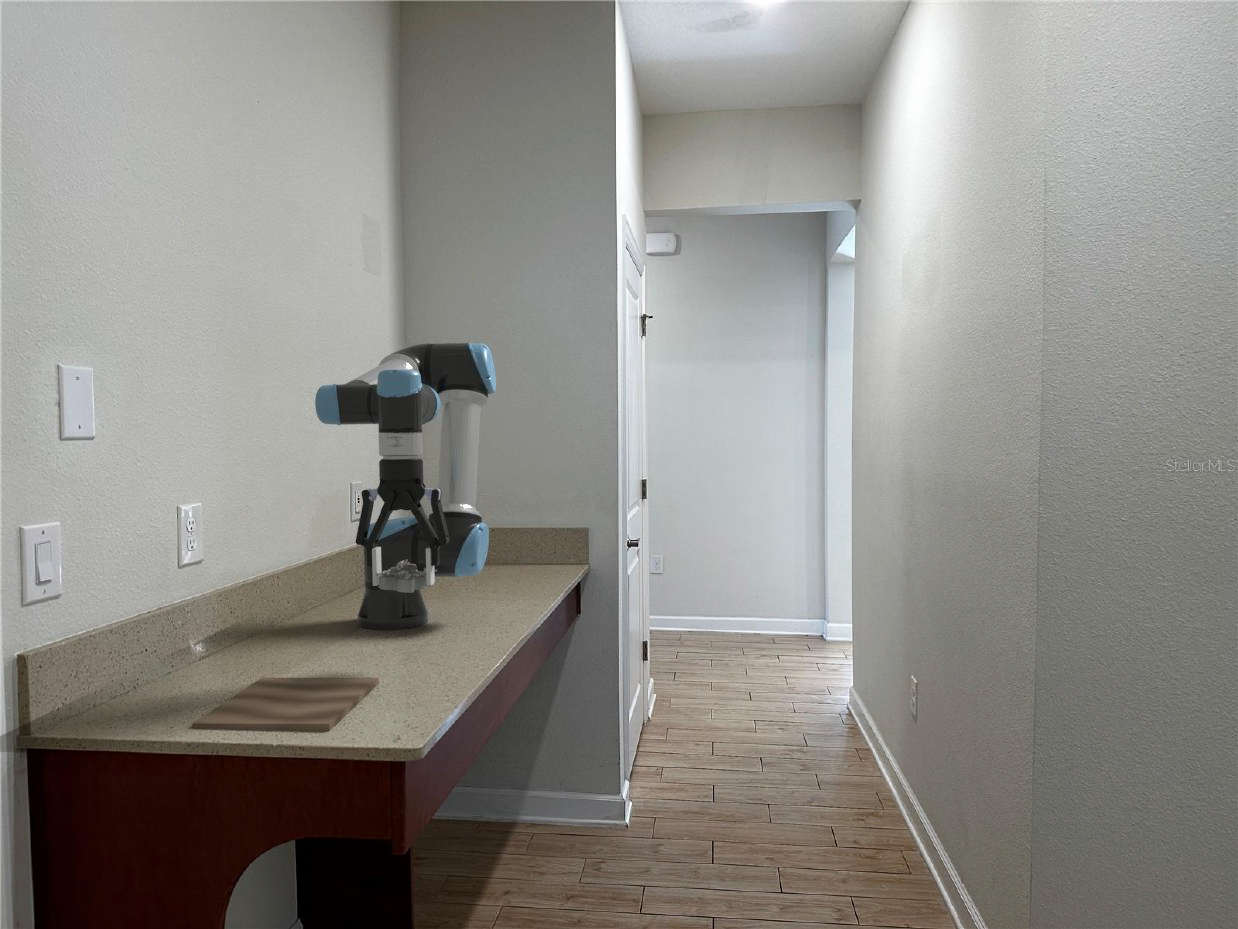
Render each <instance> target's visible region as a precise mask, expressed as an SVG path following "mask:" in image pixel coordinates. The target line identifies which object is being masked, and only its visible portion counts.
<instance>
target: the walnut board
mask: <svg viewBox="0 0 1238 929" xmlns="http://www.w3.org/2000/svg"><path fill="white" fill-rule="evenodd" d="M378 685H380V678H379V677H261V678H259V679H257V680H256V681H254V682H252V684H250V685H248V686H247V687H245V688H244V689H243V690H241V691H239V692H238V693H236V694H234V695H233V696H232V697H230V698H229V699H227V700H226V701H224V702H223V703H221V704H219V705H218V706H216V707H214V708H213V709H212V710H210V711H209V712H207V713H206V714H204V715H203V716H201V717H200V718H198V719H196V720H194V722H192V723H191V725H192V726H191V729H217V730H218V729H222V730H223V729H224V730H226V729H227V730H262V731H263V730H264V731H265V730H267V731H268V730H269V731H273V730H274V731H307V732H309V731H310V732H311V731H315V732H316V731H317V732H318V731H319V732H321V731H322V732H323V731H324V732H330V731H331V730H333V729H334V728H335V726H337V725H338V724H339V723H340V722H341V721H342V720H343V719H344V718H346V716H347V715H348V714H349V713H351V711H353V710H354V709H355V708H356V707H357V705H359V703H361V702H362V701H363V700H364V699H365V698H366V697H367V696H368V695H369V694H370V693H371V692H372V691H374V689H375V688H376V687H377V686H378Z"/></svg>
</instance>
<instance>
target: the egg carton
mask: <svg viewBox="0 0 1238 929" xmlns="http://www.w3.org/2000/svg"><path fill="white" fill-rule="evenodd" d="M434 572H437V569H436V570H434ZM376 574H377V576H379V585H378V588H380V589H384V590H396V591H399V592H409V593H412V592H414V589H419V590H420V591H423V590H425V587H426V588H428V587H429V588H432V587H433V586H434V584H435V583H434V584H432V585H431V586H427V582H426V568H424V571H418V568H417V565H415V564H411V563H409V562H408V559H407V560H405V561H404V560H402V561H400V562H399V563H397V565H396V567H391V568H390V569H389V570H387V571H383V572H381V573H379V574H378V573H376Z"/></svg>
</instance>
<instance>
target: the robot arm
mask: <svg viewBox="0 0 1238 929" xmlns="http://www.w3.org/2000/svg"><path fill="white" fill-rule="evenodd" d="M496 376H497V375H496V369H495V364H494V358H493V355H492V351H491V350H490V348H489V346H488V345H487V344H484V343H482V342H481V343H479V342H478V343H477V342H470V341H469V342H457V343H456V342H454V343H451V342H449V343H420V344H419V343H418V344H414V345H411V346H408V347H405V348H402V349H399V350H397V351H394V352H392V353H390V354H388V355H387V356H385V357H383V358H382V360H380V362H379V364H378V365H377V366H376V367H374V368H373V369H372V368H371V370H368V371H367V372H365V373H363V374H361V375H359V376H358V377H355V378H354V379H352V380H350V381H349V382H346V383H344V384H342V383H341V384H336V383H333V384H323V385H321V386H320V387H318V389H317V392H316V394H315V401H314V405H315V406H314V407H315V412H316V415H317V418H318V420H319V421H320V422H321V423H323V424H325V425H337V426H341V425H378V426H377V427H378V454H379V456H380V457H382V459H380V460H379V461H378V469H379V474H378V476H379V484H378V486H377V488H372V489H371V488H367V489H363V490H362V491H361V499H362V506H361V507H362V508H361V510H360V511H361V512H360V517H359V520H358V521H359V523H358V525H357V531H356V536H355V544H356V545H358V546H362V548H363V571H364V574H363V575H364V593H363V597H362V599H361V603H360V606H359V610H358V613H357V617H356V621H357V622H356V623H357V626H358V627H359V628H361V629H365V630H368V631H369V630H370V631H400V630H401V631H402V630H408V629H414V628H418V627H422V626H424V625H426V624H428V622H429V611H428V608H427V605H426V602H425V600H424V596H423V594H422V590H419V589H414V592H412V593H409V592H399V591H396V590H384V589H380V588H378V585H379V576H377V574H376V573H378V574H379V573H381V572H383V571H387V570H389V569H390V568H391V567H396V565H397V563H399V562H400V561H402V560H404V561H405V560H407V559H408V562H409V563H411V564H415V565H417V568H418V571H424V568H426V582H427V586H431V585H432V584H435V582H436V581H435V578H445V577H447V578H450V577H451V578H453V577H454V578H460V579H461V578H463V577H465V578H466V577H474V576H477V575H479V574H480V573H481V572H482V570H483V568H484V566H485V563H486V559H487V557H488V551H489V544H490V536H489V535H490V529H489V526H488V525H487V524H486V523H485V522H483V516H482V514H480V513H479V511H478V510H477V509H476V504H477V484H478V466H479V448H480V427H481V426H480V425H481V412H482V411H481V410H482V408H483V407H484V406H485V405H487V404H488V401H489V400H488V398H489V395H493V394H494V393H495V392H496V391H497V390H496V389H497V377H496ZM441 406H442V412H441V426H440V427H441V429H440V430H441V431H440V444H439V460H438V474H437V476H438V478H437V488H428V487H426V485H425V482H424V460H422V458H420V456H423V454H424V448H423V447H424V446H423V425H426V424H428V423H430V422H432V421H433V420H435V419H436V418H437V417H438V415H439V414H440V410H441ZM425 495H426V496H427V499H428V501H430V505H431V512H429V513H428V516H427V514H426V513H425V509H424V507H423V505H422V503H421V500H422V499H423V497H424V496H425ZM377 496H379V497H380V499H381V500H382V502H384V503H383V504H382V507H381V509H380V513H379V515H378V517H377V519H376V521H375V522H373V523H371V520H372V515H373V509H374V505H375V504H374V503H375V501H376V500H377ZM399 510H401V511H402V510H403V511H410V512H411V514H412V515H413V516H407V517H405V516H404V517H399V518H398V517H397V518H392V519H391V518H390V516H391V514H393V512H394V511H399ZM436 569H437V572H434V570H436Z"/></svg>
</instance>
